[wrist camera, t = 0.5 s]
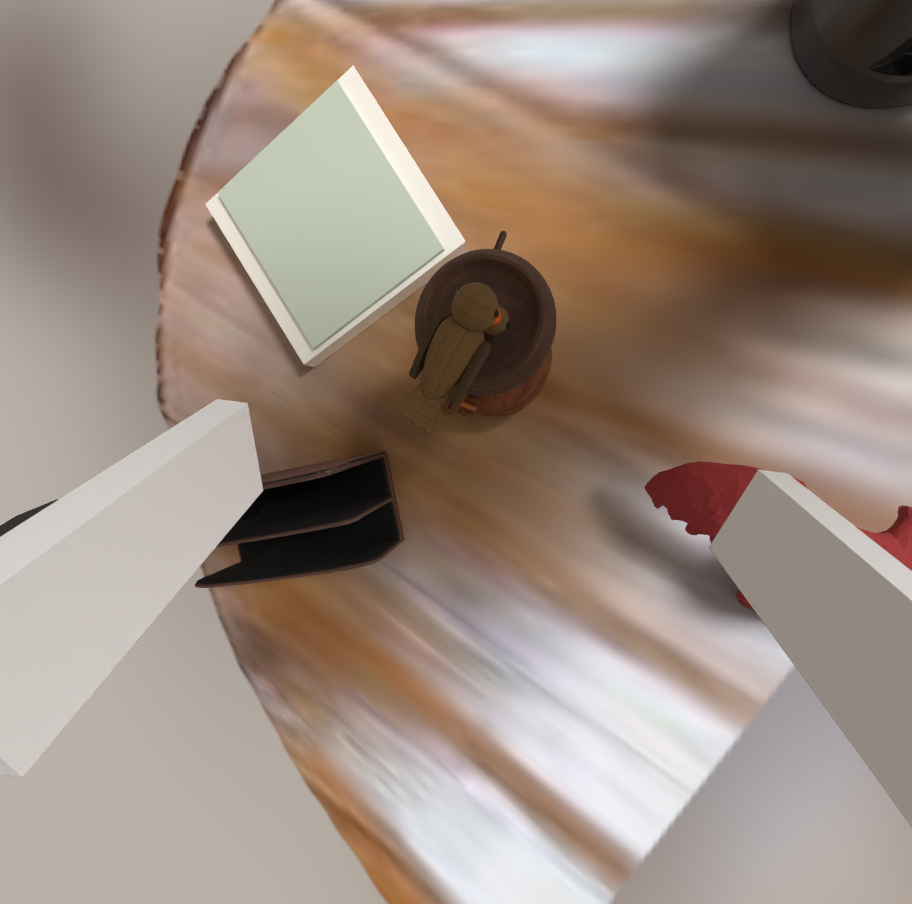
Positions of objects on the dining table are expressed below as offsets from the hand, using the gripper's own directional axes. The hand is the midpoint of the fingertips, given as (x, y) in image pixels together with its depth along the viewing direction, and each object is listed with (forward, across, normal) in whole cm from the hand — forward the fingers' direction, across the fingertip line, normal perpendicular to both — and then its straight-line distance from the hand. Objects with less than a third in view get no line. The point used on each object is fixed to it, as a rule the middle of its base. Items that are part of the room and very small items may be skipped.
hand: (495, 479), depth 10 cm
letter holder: (+24, -16, -23) cm, 37 cm away
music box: (+29, +2, -5) cm, 29 cm away
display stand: (+36, -16, +4) cm, 40 cm away
